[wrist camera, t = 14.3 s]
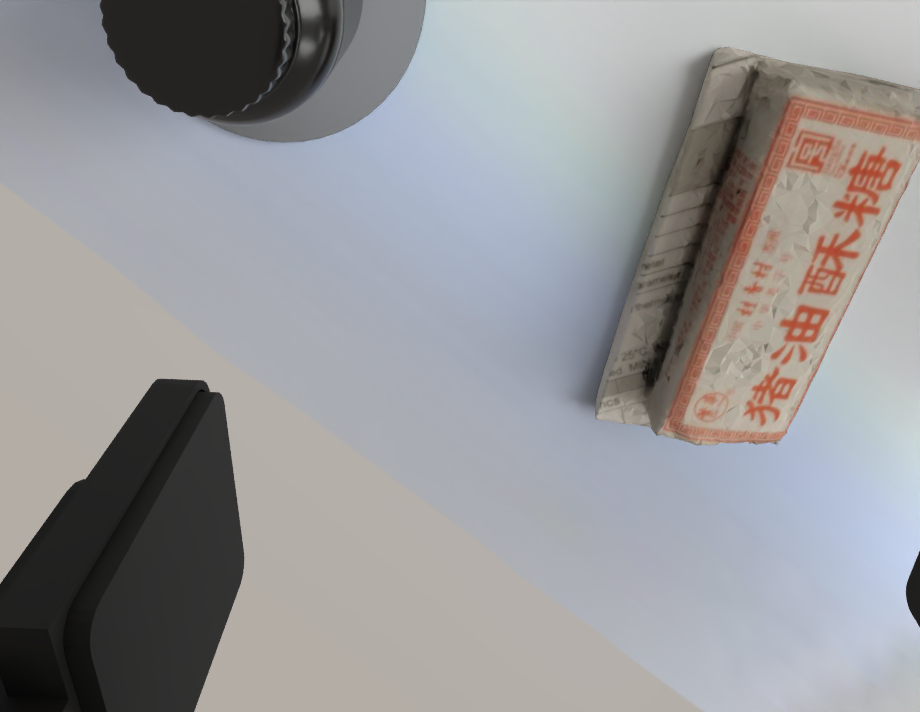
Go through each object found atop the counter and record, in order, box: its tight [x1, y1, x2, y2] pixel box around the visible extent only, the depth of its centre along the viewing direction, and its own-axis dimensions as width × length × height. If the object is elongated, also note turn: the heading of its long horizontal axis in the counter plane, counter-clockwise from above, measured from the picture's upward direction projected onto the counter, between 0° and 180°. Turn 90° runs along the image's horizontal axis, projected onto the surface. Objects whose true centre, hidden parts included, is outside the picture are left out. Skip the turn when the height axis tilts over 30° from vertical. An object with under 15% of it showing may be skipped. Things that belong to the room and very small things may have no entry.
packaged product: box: [595, 47, 920, 445], centre depth 36 cm, size 18×5×10 cm
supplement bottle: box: [100, 0, 363, 126], centre depth 26 cm, size 7×7×12 cm
